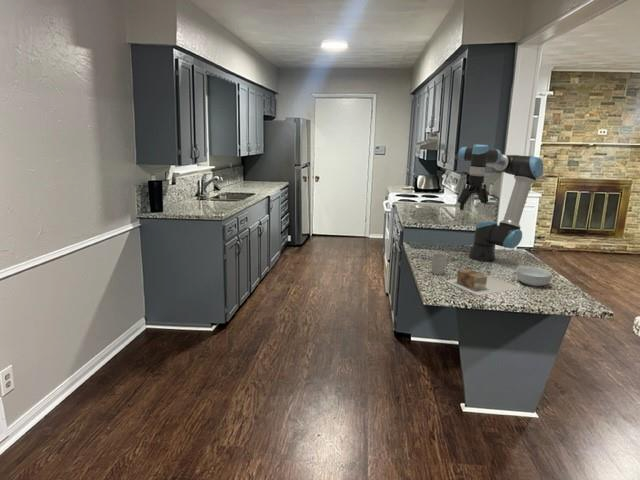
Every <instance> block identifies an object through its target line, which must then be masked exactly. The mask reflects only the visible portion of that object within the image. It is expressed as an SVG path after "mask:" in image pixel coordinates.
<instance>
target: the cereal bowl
mask: <svg viewBox="0 0 640 480" xmlns="http://www.w3.org/2000/svg"><path fill="white" fill-rule="evenodd" d="M515 277H516V278H517V279H518V281H520V282H521V283H523V284H525V285H528V286H531V287H541V286H545V285H548V284H549V283H550V282H551V280H552V278H553V273H552V272H550V271H549V270H546V269H543V268H539V267H532V266H519V267H517V268H516V272H515Z"/></svg>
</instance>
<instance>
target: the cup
mask: <svg viewBox="0 0 640 480" xmlns="http://www.w3.org/2000/svg"><path fill="white" fill-rule="evenodd" d="M448 257H449V256H447V255H446V254H444V253H443V254H442V253H433V254H431V271H432V274H433V275H435V276H436V275H438V276H439V275H443V273H444V272H445V271H446V265H447V262H448Z"/></svg>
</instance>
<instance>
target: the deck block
mask: <svg viewBox="0 0 640 480" xmlns="http://www.w3.org/2000/svg"><path fill="white" fill-rule="evenodd" d="M456 279H457V283H458V284H460V285H463V286H465V287H467V288H470V289H472V290H474V291H477V290H483V289H485V288H486V282H487V276H485V275H484V274H482V273H479V272H476V271H474V270H472V269H469V268H468V269H467V268H465V269H460V270H458V271H457V277H456Z"/></svg>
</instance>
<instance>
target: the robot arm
mask: <svg viewBox="0 0 640 480" xmlns="http://www.w3.org/2000/svg"><path fill="white" fill-rule="evenodd" d="M457 155H458V159H459V160H460V161H463V162H469V163H470V166H469V173H468V174H469V175H468V179H467V180H468V182H469V183H468V184H467V183H466V184H464V185H463V188H462V191H461V193H460V195H459V198H458V199H457V203H459V216H460V217H462V218H463V217H464V218H465V215H466V207H467V203H466V202H467V201H468V200H469V199H470V197H471V195H473V194H476V195H477V197H478V199H479V203H478V208H477V215H479V216H484V209H485V204H487V203H488V202H489V196H488V192H487V184H484V181H485V176H484V175H485V173H486V167H490V168H494V169H495V171H499V172H502V173H504V174H507V175H511V176H512V175H513V178H514V180H515V181H514V185H513V188H512V192H511V195H510V198H509V200H508V201H509V202H508V203H507V208H506V212H505V213H504V217H503V219H502V220H501V221H499V223H498V222H497V221H492V220H481V221H477V223H476V225H475V228H474V229H475V230H474V238H473V245H472V247H471V249H470V251H469V253H468V258H469V259H472V260H475V261H481V262H493V261H495V260H496V255H495V249H494V246H497V247H502V248H504V249H505V248H507V249H515V248H517V247H518V246H519V244H520V243H521V242H522V239H523V232H522V230H521V225H520V221H521V218H522V215H523V213H524V208H525V205H526V203H527V198H528V197H529V193H530V190H531V186H532V184H534V183H536V180H537V179H539V178H542V175H543V172H544V162H543V160H542V159H541V158H540V157H537V156H531V155H529V156H528V155H520V154H519V155H518V154H502V151H500V150H499V149H497V148H489V145H488V144H473V147H471V146H462V147H461V148H460V149H459V150H458V153H457Z"/></svg>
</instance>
